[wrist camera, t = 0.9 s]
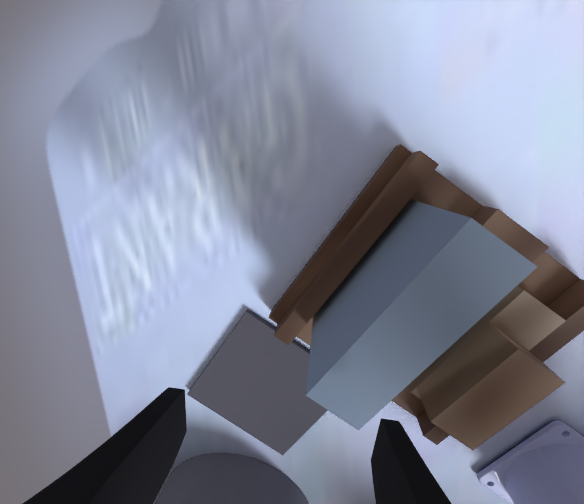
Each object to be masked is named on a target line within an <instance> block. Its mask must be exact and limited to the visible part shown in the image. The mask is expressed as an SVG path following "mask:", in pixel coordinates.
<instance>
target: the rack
mask: <svg viewBox="0 0 584 504" xmlns="http://www.w3.org/2000/svg"><path fill="white" fill-rule="evenodd" d="M438 165H439V164H437V163H436V162H435V161H433V160H432V159H431V158H429V157H428V156H427V155H425V154H424V153H423V152H421V151H417V152H413V153H411V152H410V151H408V150H407V149H406V148H404V147H403V146H402V145H398V146H396V147H395V148H394V150H393V151H392V152H391V154H390V155H389V156H388V158H387V159H386V160H385V162H384V163H383V164H382V165H381V167H380V168H379V169H378V171H377V172H376V173H375V175H374V176H373V177H372V179H371V180H370V181H369V183H368V184H367V185H366V187H365V188H364V189H363V191H362V192H361V193H360V195H359V196H358V197H357V198H356V200H355V201H354V202H353V204H352V205H351V206H350V208H349V209H348V210H347V212H346V213H345V214H344V216H343V217H342V218H341V220H340V221H339V222H338V224H337V225H336V226H335V227H334V229H333V230H332V231H331V233H330V234H329V235H328V237H327V238H326V239H325V241H324V242H323V243H322V245H321V246H320V247H319V249H318V250H317V251H316V253H315V254H314V255H313V257H312V258H311V259H310V260H309V262H308V263H307V264H306V266H305V267H304V268H303V270H302V271H301V272H300V274H299V275H298V276H297V278H296V279H295V280H294V282H293V283H292V284H291V286H290V287H289V288H288V289H287V291H286V292H285V293H284V295H283V296H282V297H281V299H280V300H279V301H278V303H277V304H276V305H275V307H274V308H273V309H272V311H271V313H270V315H269V318H270V319H271V320H273V321H274V322H276V323H277V327H276V330H275V334H274V336H275V337H276V338H278V339H279V340H281V341H282V342H284V343H285V344H287V345H288V346H289V344H290V343H291V342H292V341H293V340H294V338H295V337H298V338H299V339H301V340H302V341H304V342H305V343H307V344H308V345H310V344H311V333H312V322H313V317H314V316H315V314H316V313H317V312H318V311H319V310H320V308H321V307H322V306H323V305H324V304H325V302H326V301H327V300H328V299H329V298H330V296H331V295H332V294H333V293H334V292H335V290H336V289H337V288H338V287H339V286H340V284H341V283H342V282H343V281H344V280H345V278H346V277H347V276H348V275H349V274H350V272H351V271H352V270H353V269H354V268H355V266H356V265H357V264H358V263H359V261H360V260H361V259H362V258H363V257H364V255H365V254H366V253H367V252H368V251H369V249H370V248H371V247H372V246H373V245H374V243H375V242H376V241H377V240H378V239H379V237H380V236H381V235H382V234H383V233H384V231H385V230H386V229H387V228H388V227H389V225H390V224H391V223H392V222H393V221H394V219H395V218H396V217H397V216H398V215H399V213H400V212H401V211H402V210H403V209H404V207H405V206H406V205H407V204H408V203H409V201H410V200H414V201H418V202H421V203H424V204H428V205H431V206H434V207H437V208H441V209H444V210H447V211H451V212H454V213H457V214H460V215H464V216H467V217H470V218H472V219H474V220H475V221H476V222H478V223H479V224H480V225H482V226H483V227H485V228H486V229H487V230H489V231H490V232H491V233H493V234H494V235H495V236H497V237H498V238H499V239H501V240H502V241H503V242H505V243H506V244H507V245H509V246H510V247H511V248H513V249H514V250H516V251H517V252H518V253H520V254H521V255H522V256H524V257H525V258H526V259H528V260H529V261H530V262H532V263H533V264H534V265H536V266H537V268H536V269H535V270H534V271H533V272H531V273H530V274H529V275H528V276H527V277H526V278H525V279H524V280H523V281H522V282H521V283H519V284H518V285H517V286H518V287H520V288H521V289H523V290H525V291H526V292H527V293H529V294H530V295H532V296H533V297H534V298H536V299H537V300H538V301H540V302H541V303H542V304H544V305H545V306H547V307H548V308H549V309H551V310H552V311H553V312H555V313H556V314H557V315H559V316H560V317H562V318H563V319H564V320H566V321H565V322H564V323H563V324H561V325H560V326H559V327H558V328H556V329H555V330H554V331H553V332H551V333H550V334H549V335H548V336H546V337H545V338H544V339H543V340H542V341H540V342H539V343H538V344H537V345H535V346H534V347H533V348H532V349H530V350H529V351H530V352H531V353H532V354H533V355H534V356H535V357H537V358H538V359H539V360H540V361H541V362H542V363H543V362H544V361H545V360H546V359H548V358H549V357H550V356H552V355H553V354H554V353H555V352H557V351H558V350H559V349H561V348H562V347H563V346H564V345H566V344H567V343H568V342H570V341H571V340H572V339H573V338H575V337H576V336H577V335H579V334H580V333H581V332H582V331H584V280H582V279H580V278H578V277H577V276H576V275H574V274H573V273H572V272H570V271H569V270H568V269H566V268H565V267H564V266H562V265H561V264H560V263H558V262H557V261H556V260H554V259H553V258H552V257H550V256H549V255H548V254H546V253H545V252H544V251H545V250H546V249H547V248H548V246H547V245H545V244H544V243H543V242H541V241H540V240H539V239H537V238H536V237H535V236H533V235H532V234H531V233H529V232H528V231H527V230H525V229H524V228H523V227H521V226H520V225H519V224H517V223H516V222H515V221H513V220H512V219H511V218H509V217H508V216H507V215H505V214H504V213H503V212H501V211H500V210H499V209H495V208H490V207H485V206H482V205H481V204H479V203H478V202H477V201H475V200H474V199H473V198H471V197H470V196H469V195H467V194H466V193H465V192H463V191H462V190H461V189H459V188H458V187H457V186H455V185H454V184H453V183H451V182H450V181H449V180H447V179H446V178H445V177H443V176H442V175H441V174H439V173H438V172H437V171H435V168H436V167H437V166H438ZM392 401H393V402H395V403H396V404H398V405H399V406H400V407H402V408H403V409H405V410H406V411H408V412H409V413H411V414H412V415H414V416H415V417H417V420H418V422H419V425H420V428H421V430H422V433H423V436H424V437H426V438H427V439H429V440H430V441H432V442H433V443H435V444H436V445H438V444H439V443H440V442H441V441H443V440H444V439H445V438H447V437H448V436H449V434H448V433H446V432H445V431H443V430H442V429H440V428H439V427H438V426H436V425H435V424H433V423H432V422H430V419H429V417H428V415H427V412H426V410H425V407H424V405H423V403H422V400H421V399H420V398H418V397H417V396H415V395H414V394H412V393H411V392H410V389H409V387H408V386H407V387H405V388H404V389H403V390H402V391H401V392H400V393H399V394H398V395H397V396H396V397H394V398H393V399H392Z"/></svg>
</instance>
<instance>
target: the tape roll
mask: <svg viewBox="0 0 584 504" xmlns="http://www.w3.org/2000/svg"><path fill="white" fill-rule="evenodd" d="M156 504H309V503H308V501H307V499H306V497H305V495H304V494H303V492H302V491H301V490H300V488H299V487H298V486H297V485H296V484H295V483H294V482H293V481H292V480H291V479H290V478H289V477H287V476H286V475H285V474H284V473H282V472H281V471H279V470H278V469H276V468H274V467H272V466H271V465H269V464H267V463H264V462H262V461H260V460H257V459H254V458H251V457H247V456H242V455H237V454H230V453H211V454H204V455H200V456H196V457H193V458H191V459H188V460H186V461H185V462H183V463H182V464H180V465H179V466H178V467H177V468H176V469H175V470H174V471H173V472H172V473H171V475H170V477H169V479H168V481H167V483H166V484H165V486H164V488H163V490H162V492H161V494H160V496H159V498H158V500H157V502H156Z"/></svg>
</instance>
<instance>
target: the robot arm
mask: <svg viewBox="0 0 584 504" xmlns="http://www.w3.org/2000/svg"><path fill="white" fill-rule="evenodd" d="M185 434H186V409H185V390H183V389H176V388H170V387H169V388H167V389H166V390H165V391H164V392H163V393H161V394H160V395H159V396H158V397H157V398H156V399H155V400H154V401H152V402H151V403H150V404H149V405H148V406H147V407H146V408H145V409H143V410H142V411H141V412H140V413H139V414H138V415H137V416H135V417H134V418H133V419H132V420H131V421H130V422H128V423H127V424H126V425H125V426H124V427H123V428H121V429H120V430H119V431H118V432H117V433H115V434H114V435H113V436H112V437H111V438H110V439H108V440H107V441H106V442H105V443H103V444H102V445H101V446H100V447H98V448H97V449H96V450H95V451H93V452H92V453H91V454H90V455H88V456H87V457H86V458H84V459H83V460H82V461H81V462H80V463H78V464H77V465H76V466H74V467H73V468H72V469H71V470H69V471H68V472H66V473H65V474H64V475H62V476H61V477H60V478H59V479H57V480H55V481H54V482H53V483H52V484H50V485H49V486H47V487H46V488H44V489H43V490H42V491H40V492H39V493H37V494H36V495H34V496H33V497H32V498H30V499H29V500H27V501H26V502H24V503H23V504H153V502H154V500H155V498H156V496H157V494H158V493H159V491H160V489H161V487H162V485H163V483H164V481H165V479H166V477H167V475H168V473H169V471H170V469H171V467H172V465H173V463H174V461H175V458H176V456H177V454H178V451H179V449H180V446H181V444H182V441H183V439H184V436H185ZM371 466H372V475H373V484H374V492H375V499H376V504H451V502H450V501H449V499H448V498H447V496H446V495H445V493H444V492H443V490H442V489H441V487H440V486H439V484H438V483H437V481H436V480H435V478H434V477H433V475H432V474H431V472H430V471H429V469H428V467H427V466H426V464H425V463H424V461H423V459H422V458H421V456H420V455H419V453H418V451H417V450H416V448H415V447H414V445H413V443H412V442H411V440H410V438H409V437H408V435H407V433H406V432H405V430H404V428H403V427H402V425H401V424H400V422H399V421H394V420H387V419H381V421H380V425H379V429H378V433H377V437H376V441H375V445H374V449H373V454H372V458H371ZM477 478H478V480H479V482H480V483H481V484H483V485H484V486H486V487H487V488H489V489H490V490H492V491H493V492H495V493H496V494H498V495H499V496H501V497H502V498H504V499H505V500H507V501H508V502H510V503H511V504H584V437H583V436H582V435H581V434H579V433H578V432H576V431H575V430H573V429H572V428H571V427H569V426H568V425H566V424H565V423H563V422H562V421H558V420H556V421H552V422H551V423H549V424H548V425H546V426H545V427H543V428H542V429H541V430H539V431H538V432H536V433H535V434H533V435H532V436H530V437H529V438H528V439H526V440H525V441H523V442H522V443H520V444H519V445H518V446H516V447H515V448H513V449H512V450H510V451H509V452H507V453H506V454H505V455H503V456H502V457H500V458H499V459H497V460H496V461H494V462H493V463H492V464H490V465H489V466H487V467H486V468H484V469H483V470H482V471H480V472H479V473H478V474H477Z"/></svg>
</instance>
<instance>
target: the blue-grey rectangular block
mask: <svg viewBox="0 0 584 504" xmlns="http://www.w3.org/2000/svg"><path fill="white" fill-rule="evenodd" d="M536 268H537V266H536V265H534V264H533V263H532V262H530V261H529V260H528V259H526V258H525V257H524V256H522V255H521V254H520V253H518V252H517V251H516V250H514V249H513V248H511V247H510V246H509V245H507V244H506V243H505V242H503V241H502V240H501V239H499V238H498V237H497V236H495V235H494V234H493V233H491V232H490V231H489V230H487V229H486V228H485V227H483V226H482V225H480V224H479V223H478V222H476V221H475V220H474V219H472V218H470V217H467V216H464V215H460V214H457V213H454V212H451V211H447V210H444V209H441V208H437V207H434V206H431V205H428V204H424V203H421V202H418V201H414V200H410V201H409V203H408V204H407V205H406V206H405V207H404V209H403V210H402V211H401V212H400V213H399V215H398V216H397V217H396V218H395V219H394V221H393V222H392V223H391V224H390V225H389V227H388V228H387V229H386V230H385V231H384V233H383V234H382V235H381V236H380V237H379V239H378V240H377V241H376V242H375V243H374V245H373V246H372V247H371V248H370V249H369V251H368V252H367V253H366V254H365V255H364V257H363V258H362V259H361V260H360V261H359V263H358V264H357V265H356V266H355V268H354V269H353V270H352V271H351V272H350V274H349V275H348V276H347V277H346V278H345V280H344V281H343V282H342V283H341V284H340V286H339V287H338V288H337V289H336V290H335V292H334V293H333V294H332V295H331V296H330V298H329V299H328V300H327V301H326V302H325V304H324V305H323V306H322V307H321V308H320V310H319V311H318V312H317V313H316V314H315V316H314V317H313V322H312V333H311V344H310V355H309V366H308V377H307V387H306V396H307V397H309V398H310V399H312V400H313V401H315V402H316V403H318V404H319V405H321V406H323V407H324V408H326V409H327V410H329V411H330V412H332V413H333V414H335V415H336V416H338V417H339V418H341V419H342V420H344V421H345V422H347V423H348V424H350V425H351V426H353V427H354V428H356V429H357V430H359V429H360V428H362V427H363V426H364V425H365V424H366V423H367V422H368V421H369V420H370V419H371V418H373V417H374V416H375V415H376V414H377V413H378V412H379V411H380V410H381V409H382V408H383V407H385V406H386V405H387V404H388V403H389V402H390V401H391V400H392V399H393V398H394V397H396V396H397V395H398V394H399V393H400V392H401V391H402V390H403V389H404V388H405V387H407V386H408V385H409V384H410V383H411V382H412V381H413V380H414V379H415V378H416V377H417V376H419V375H420V374H421V373H422V372H423V371H424V370H425V369H426V368H427V367H428V366H430V365H431V364H432V363H433V362H434V361H435V360H436V359H437V358H438V357H439V356H440V355H442V354H443V353H444V352H445V351H446V350H447V349H448V348H449V347H450V346H451V345H453V344H454V343H455V342H456V341H457V340H458V339H459V338H460V337H461V336H462V335H464V334H465V333H466V332H467V331H468V330H469V329H470V328H471V327H472V326H473V325H474V324H476V323H477V322H478V321H479V320H480V319H481V318H482V317H483V316H484V315H485V314H487V313H488V312H489V311H490V310H491V309H492V308H493V307H494V306H495V305H496V304H497V303H499V302H500V301H501V300H502V299H503V298H504V297H505V296H506V295H507V294H508V293H510V292H511V291H512V290H513V289H514V288H515V287H516V286H517V285H518V284H519V283H521V282H522V281H523V280H524V279H525V278H526V277H527V276H528V275H529V274H530V273H531V272H533V271H534V270H535V269H536Z"/></svg>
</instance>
